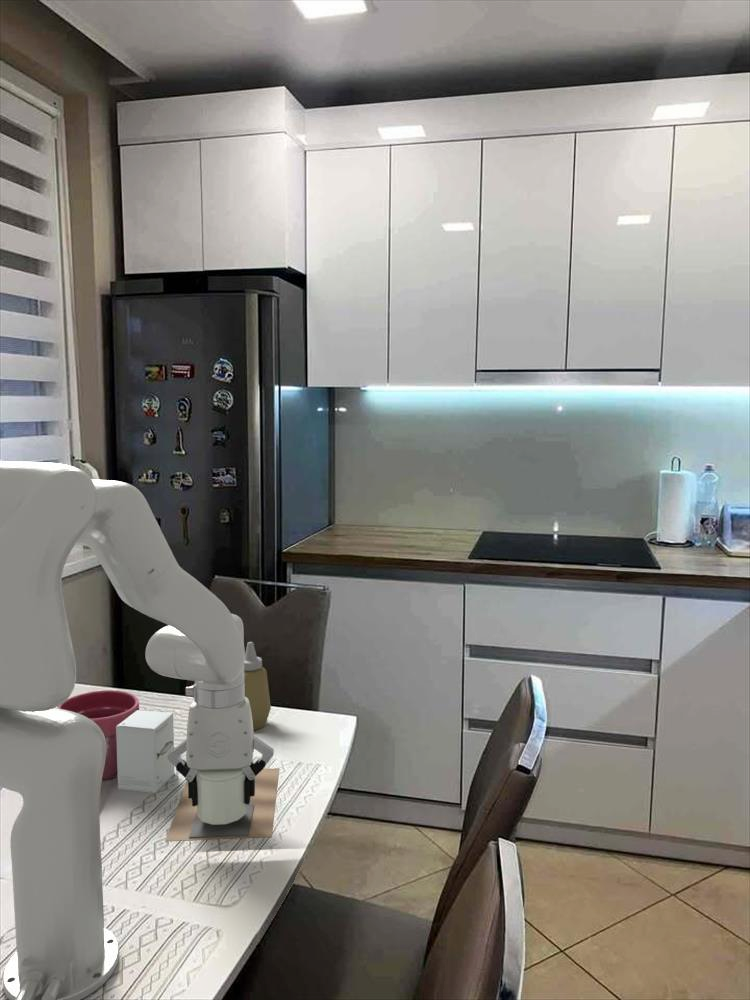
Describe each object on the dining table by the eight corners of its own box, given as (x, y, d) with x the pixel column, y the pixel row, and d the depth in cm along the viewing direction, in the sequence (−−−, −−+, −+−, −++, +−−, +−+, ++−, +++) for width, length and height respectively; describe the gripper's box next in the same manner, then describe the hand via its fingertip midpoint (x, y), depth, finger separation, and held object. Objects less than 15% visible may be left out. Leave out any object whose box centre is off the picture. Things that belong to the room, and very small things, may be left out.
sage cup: (243, 823, 113) (243, 777, 112) (194, 825, 113) (193, 778, 112) (248, 798, 121) (247, 754, 120) (202, 799, 120) (201, 756, 119)
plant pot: (156, 759, 140) (154, 694, 139) (106, 795, 127) (103, 724, 125) (95, 747, 145) (93, 685, 143) (41, 780, 132) (37, 712, 130)
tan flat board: (271, 844, 113) (271, 835, 112) (165, 848, 111) (164, 839, 111) (279, 774, 134) (279, 767, 134) (190, 777, 133) (190, 770, 133)
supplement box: (156, 800, 125) (154, 729, 124) (116, 795, 127) (114, 725, 125) (176, 779, 133) (174, 712, 131) (138, 775, 134) (136, 708, 133)
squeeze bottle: (225, 730, 153) (223, 646, 151) (243, 715, 161) (241, 635, 159) (260, 735, 151) (259, 650, 149) (277, 720, 158) (276, 638, 156)
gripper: (157, 704, 110) (161, 815, 112) (275, 701, 111) (276, 811, 113) (168, 686, 117) (170, 790, 119) (277, 683, 119) (278, 787, 121)
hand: (222, 800), depth 116 cm, fingers closed on sage cup, 7 cm apart
